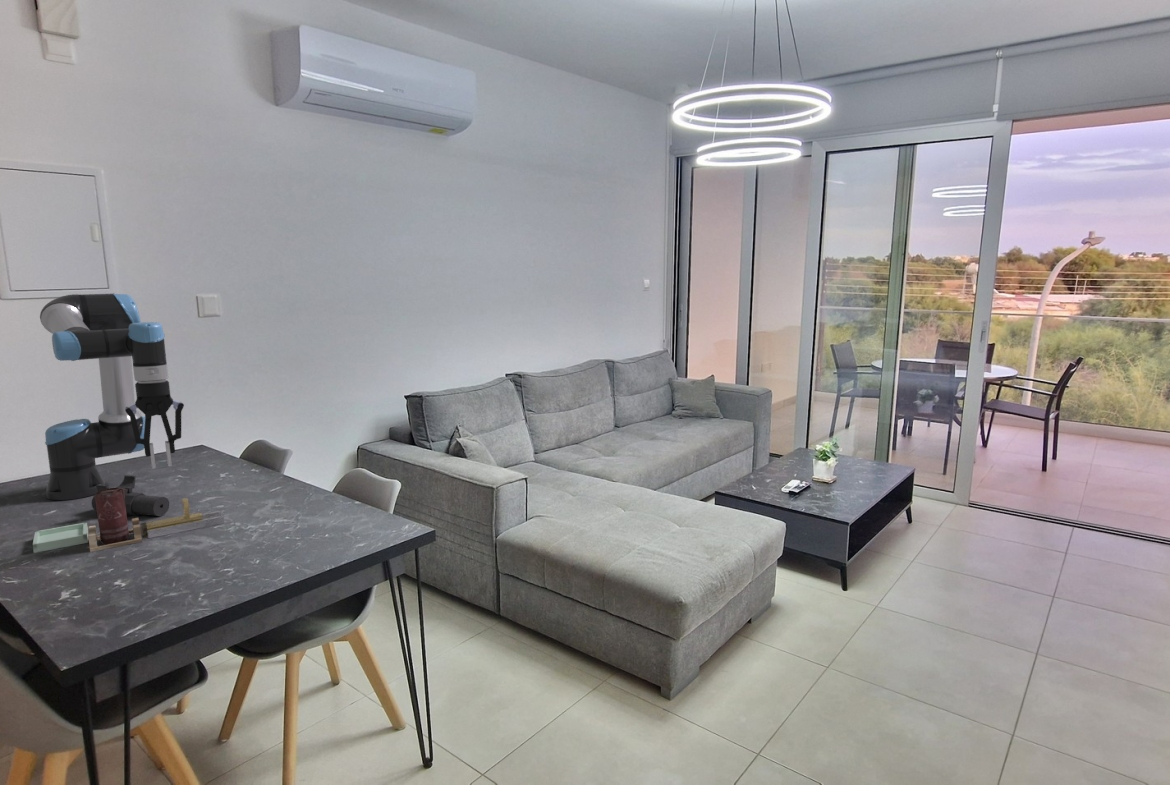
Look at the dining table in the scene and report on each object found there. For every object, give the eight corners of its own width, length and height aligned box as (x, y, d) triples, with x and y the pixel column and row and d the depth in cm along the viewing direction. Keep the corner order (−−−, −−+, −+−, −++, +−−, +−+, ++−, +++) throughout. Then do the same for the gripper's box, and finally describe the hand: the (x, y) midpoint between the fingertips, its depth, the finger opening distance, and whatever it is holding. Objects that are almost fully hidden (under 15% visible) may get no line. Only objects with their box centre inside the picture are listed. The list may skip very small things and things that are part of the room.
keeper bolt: (138, 534, 177) (134, 506, 176) (201, 522, 186) (198, 495, 184) (139, 538, 175) (135, 509, 173) (203, 525, 183) (200, 498, 182)
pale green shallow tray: (36, 539, 174) (35, 531, 173) (88, 529, 180) (87, 522, 180) (33, 552, 165) (32, 544, 165) (87, 542, 172) (86, 534, 171)
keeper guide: (146, 531, 179) (146, 524, 179) (220, 517, 190) (219, 510, 190) (148, 538, 175) (147, 531, 174) (223, 523, 185) (223, 516, 185)
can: (135, 538, 174) (129, 488, 172) (110, 547, 169) (103, 495, 166) (121, 534, 177) (115, 485, 174) (96, 543, 171) (89, 492, 169)
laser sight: (148, 522, 186) (144, 489, 185) (83, 516, 191) (79, 483, 189) (176, 510, 196) (172, 478, 194) (113, 505, 200) (109, 474, 198)
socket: (90, 539, 173) (88, 525, 173) (139, 530, 180) (138, 516, 179) (90, 552, 166) (88, 537, 165) (142, 541, 172) (140, 527, 172)
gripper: (115, 385, 165) (126, 474, 169) (188, 379, 174) (197, 464, 178) (114, 381, 171) (125, 468, 175) (185, 376, 180) (194, 458, 184)
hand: (161, 466), depth 177 cm, fingers open, 3 cm apart
